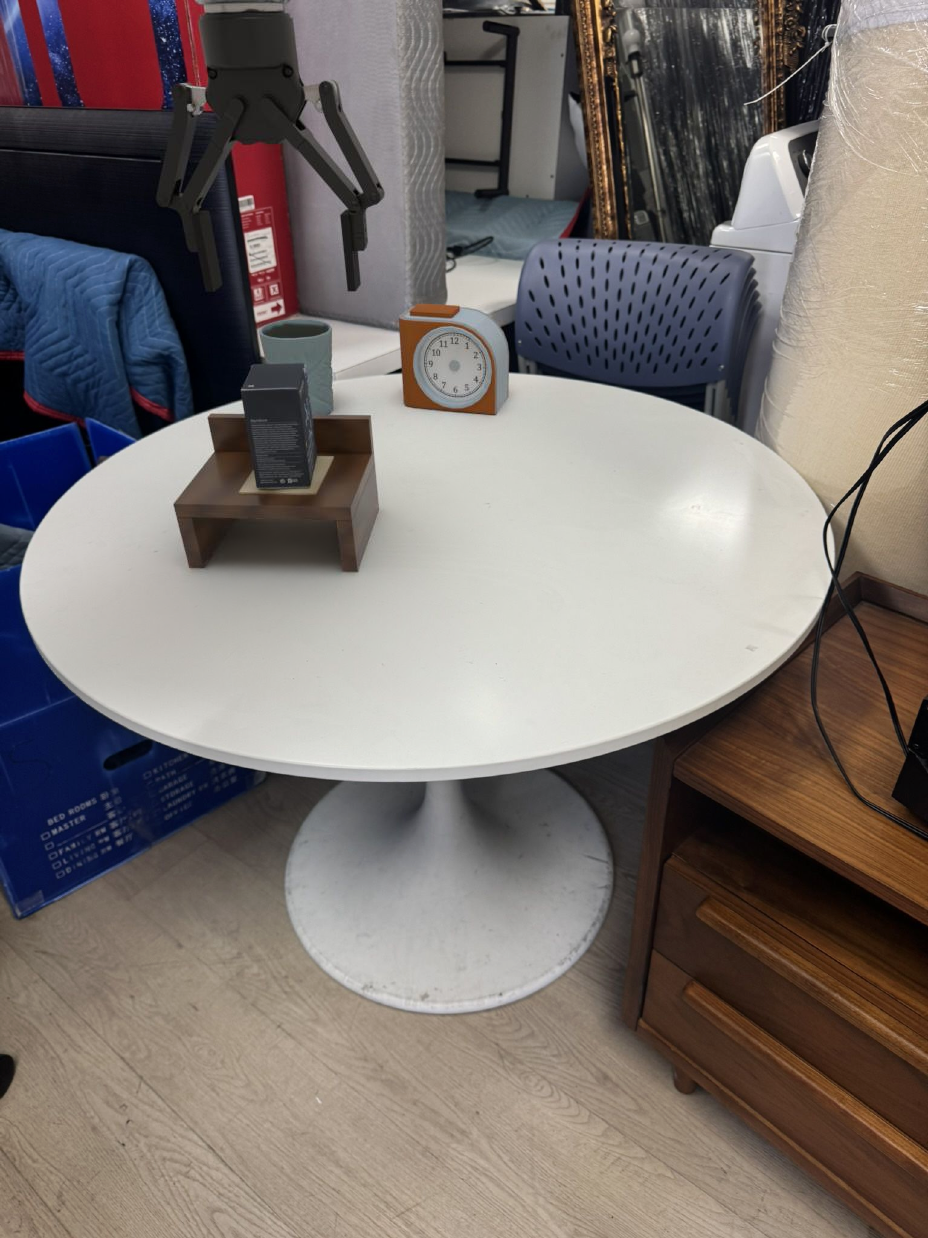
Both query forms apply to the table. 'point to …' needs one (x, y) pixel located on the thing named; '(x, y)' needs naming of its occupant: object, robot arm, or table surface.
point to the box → (280, 425)
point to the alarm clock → (453, 359)
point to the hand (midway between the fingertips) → (283, 288)
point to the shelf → (333, 494)
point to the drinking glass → (303, 355)
